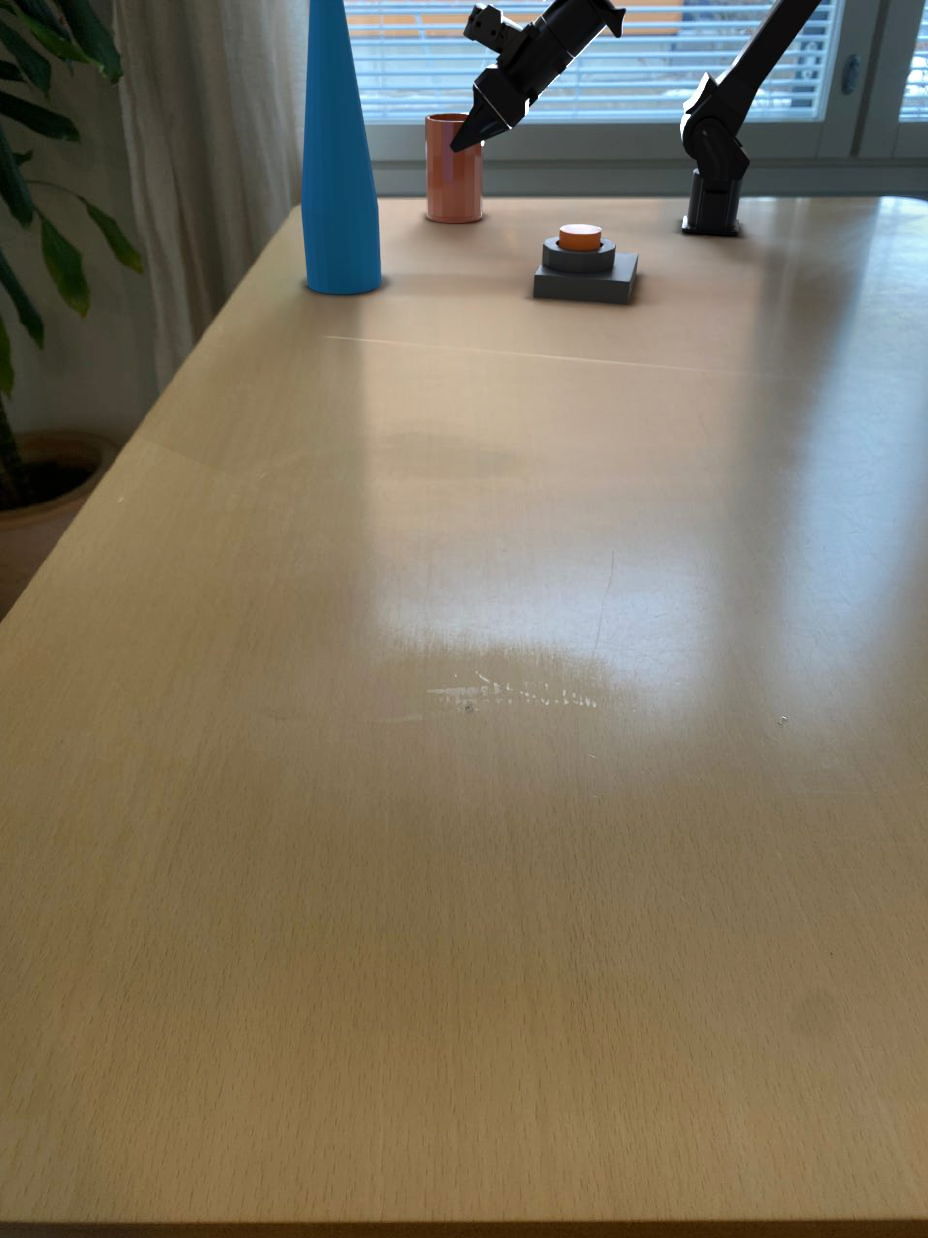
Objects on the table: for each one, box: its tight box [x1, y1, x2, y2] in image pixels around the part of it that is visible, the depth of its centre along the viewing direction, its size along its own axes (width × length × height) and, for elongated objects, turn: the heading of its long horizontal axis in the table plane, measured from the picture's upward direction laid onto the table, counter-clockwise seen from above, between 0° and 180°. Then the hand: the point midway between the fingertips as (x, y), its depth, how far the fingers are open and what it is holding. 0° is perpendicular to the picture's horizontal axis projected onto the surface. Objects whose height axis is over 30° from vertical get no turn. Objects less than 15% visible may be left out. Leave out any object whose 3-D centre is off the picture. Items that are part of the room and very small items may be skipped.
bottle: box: [300, 0, 383, 295], centre depth 85 cm, size 7×7×30 cm
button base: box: [532, 235, 639, 306], centre depth 92 cm, size 10×9×4 cm
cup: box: [424, 112, 485, 224], centre depth 114 cm, size 7×7×11 cm
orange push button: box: [558, 223, 602, 250], centre depth 91 cm, size 4×4×2 cm
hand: (458, 142), depth 112 cm, fingers open, 9 cm apart
